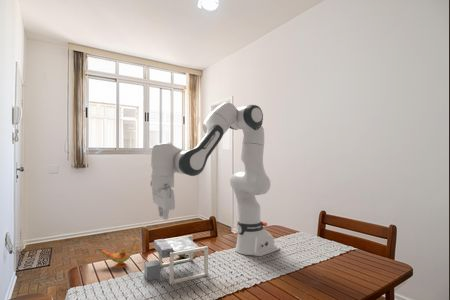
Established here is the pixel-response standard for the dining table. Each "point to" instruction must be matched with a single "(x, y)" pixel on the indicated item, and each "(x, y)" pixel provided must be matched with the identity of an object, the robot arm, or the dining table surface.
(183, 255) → the rock sample
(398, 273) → the dining table surface
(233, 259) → the dining table surface
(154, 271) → the stone
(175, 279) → the frame
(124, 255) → the magic lamp
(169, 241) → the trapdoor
